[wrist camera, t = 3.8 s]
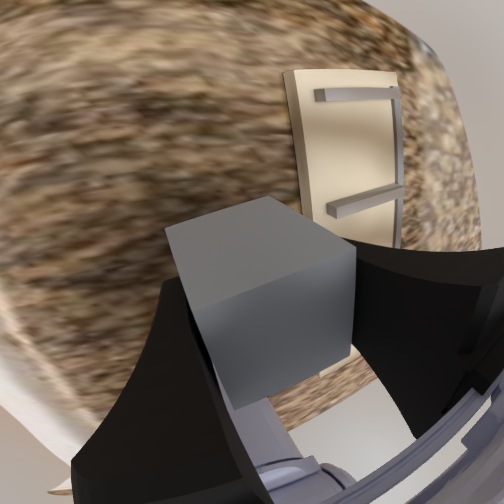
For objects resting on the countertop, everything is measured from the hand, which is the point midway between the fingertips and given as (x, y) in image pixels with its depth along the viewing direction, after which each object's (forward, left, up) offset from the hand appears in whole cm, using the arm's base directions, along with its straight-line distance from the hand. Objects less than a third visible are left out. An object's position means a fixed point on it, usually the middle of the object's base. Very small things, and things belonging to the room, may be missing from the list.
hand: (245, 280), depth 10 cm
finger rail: (-5, -10, -7) cm, 13 cm away
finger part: (0, 0, -2) cm, 2 cm away
